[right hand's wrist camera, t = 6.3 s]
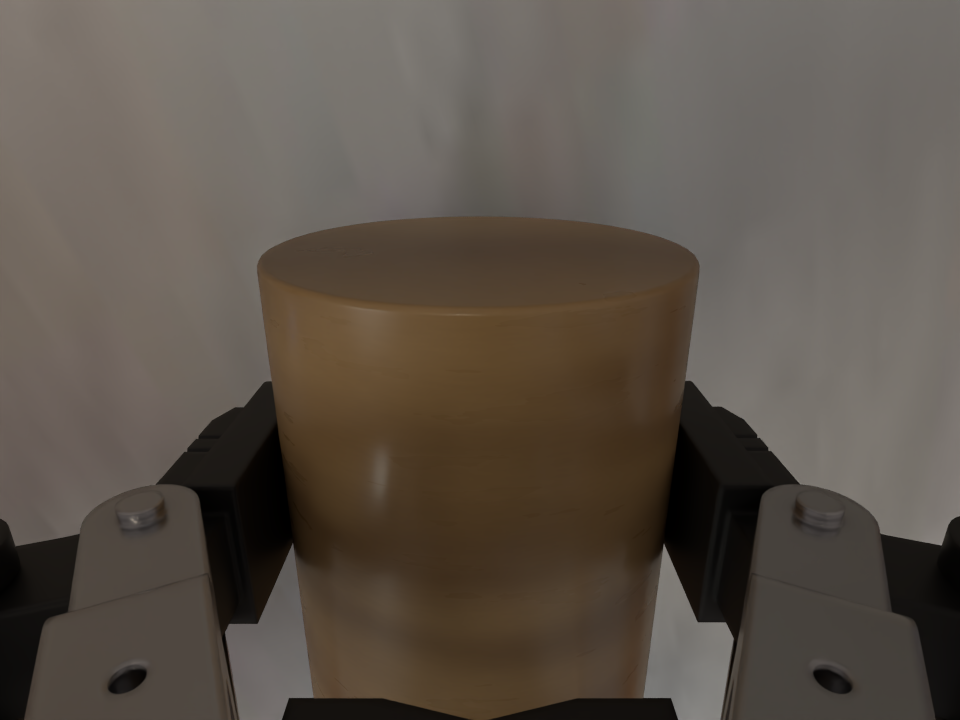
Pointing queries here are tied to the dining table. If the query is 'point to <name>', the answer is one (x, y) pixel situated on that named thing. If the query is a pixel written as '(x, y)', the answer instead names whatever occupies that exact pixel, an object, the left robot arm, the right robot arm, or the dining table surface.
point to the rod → (478, 453)
